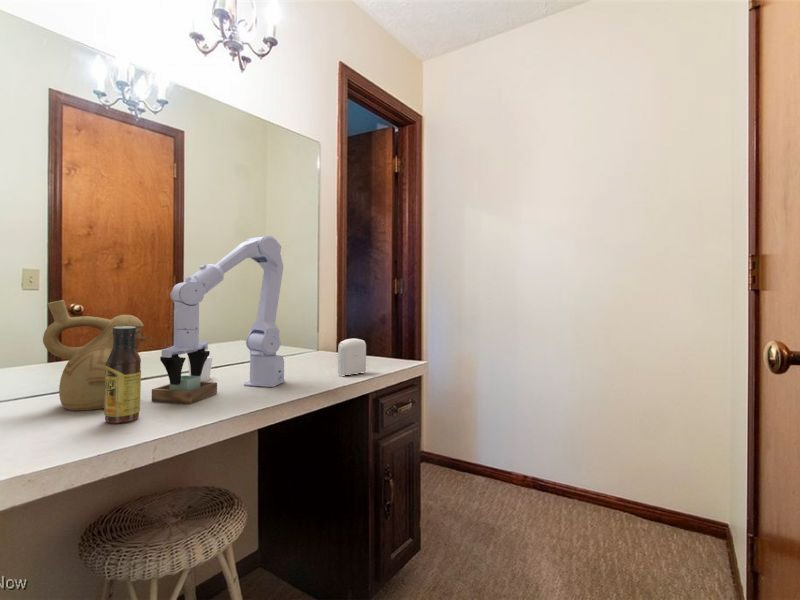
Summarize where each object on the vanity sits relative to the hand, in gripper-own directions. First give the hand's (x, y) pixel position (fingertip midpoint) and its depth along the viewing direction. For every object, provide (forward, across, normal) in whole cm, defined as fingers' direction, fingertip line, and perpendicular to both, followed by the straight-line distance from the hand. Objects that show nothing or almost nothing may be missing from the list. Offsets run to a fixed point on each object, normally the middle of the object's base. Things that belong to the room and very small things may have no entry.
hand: (185, 381), depth 102 cm
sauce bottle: (+4, -19, 0) cm, 20 cm away
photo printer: (+4, +39, -33) cm, 51 cm away
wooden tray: (+4, 0, 0) cm, 4 cm away
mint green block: (+4, 0, 0) cm, 4 cm away
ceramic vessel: (+4, -10, +16) cm, 19 cm away
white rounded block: (+4, +19, +10) cm, 22 cm away
